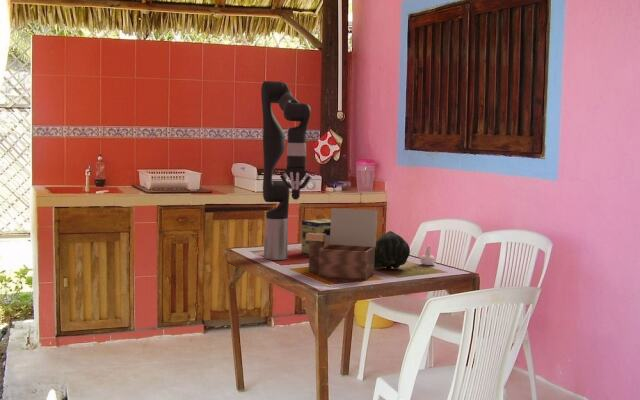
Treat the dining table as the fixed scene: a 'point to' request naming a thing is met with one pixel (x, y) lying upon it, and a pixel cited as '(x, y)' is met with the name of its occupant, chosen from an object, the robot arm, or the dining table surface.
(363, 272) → the box
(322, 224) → the protein box
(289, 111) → the robot arm
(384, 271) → the dining table surface
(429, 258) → the garlic bulb
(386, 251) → the squash
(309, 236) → the latch bolt
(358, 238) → the lid
